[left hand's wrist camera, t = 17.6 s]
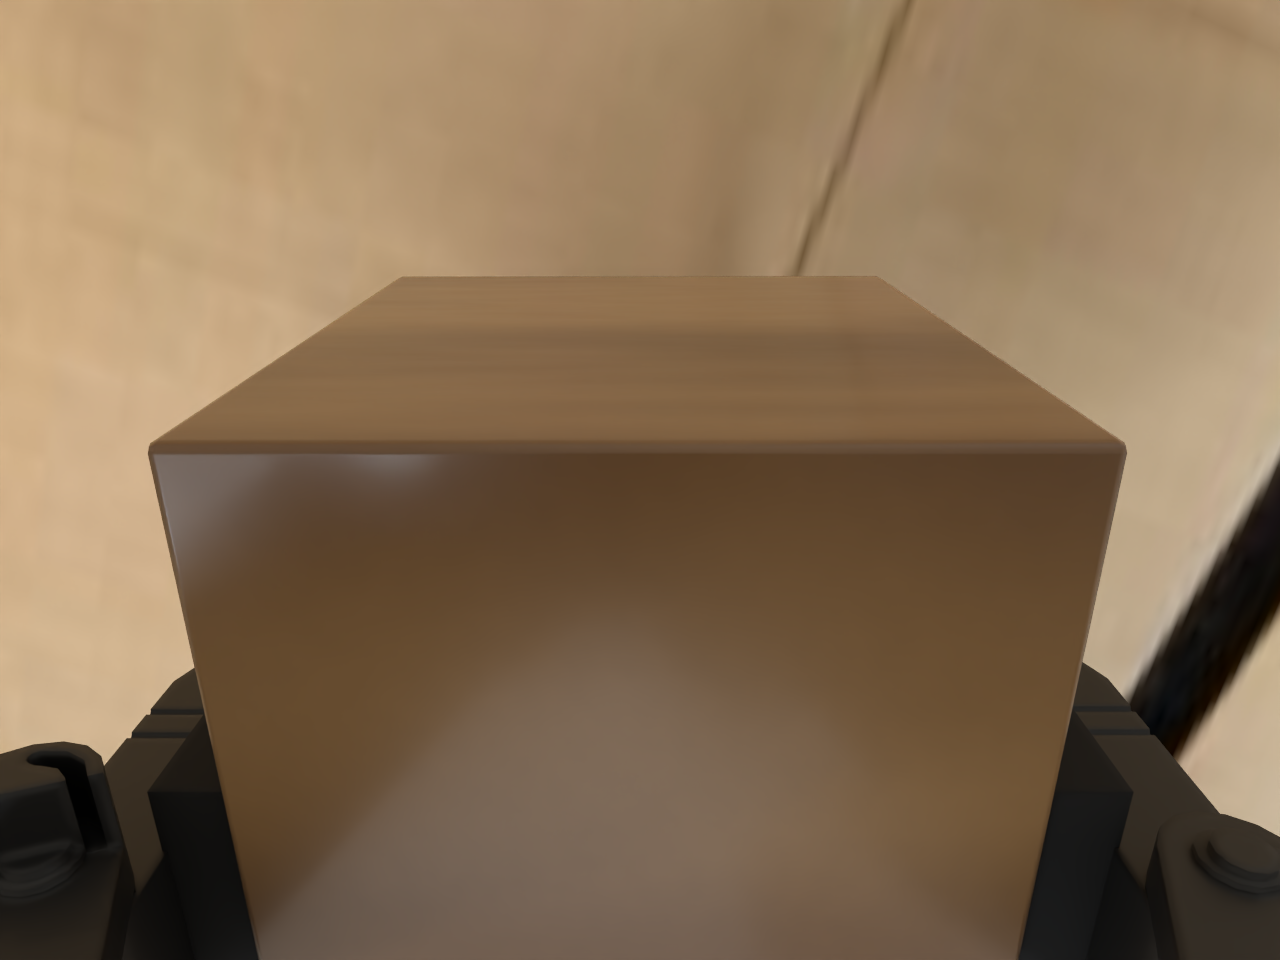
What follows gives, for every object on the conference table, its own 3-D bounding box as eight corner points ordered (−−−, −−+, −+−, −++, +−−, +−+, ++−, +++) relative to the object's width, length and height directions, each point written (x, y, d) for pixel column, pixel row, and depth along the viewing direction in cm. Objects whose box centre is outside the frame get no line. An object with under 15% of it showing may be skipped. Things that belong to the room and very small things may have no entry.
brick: (398, 276, 13) (140, 443, 6) (880, 275, 13) (1134, 442, 6) (448, 775, 17) (314, 1231, 10) (831, 775, 17) (963, 1231, 10)
